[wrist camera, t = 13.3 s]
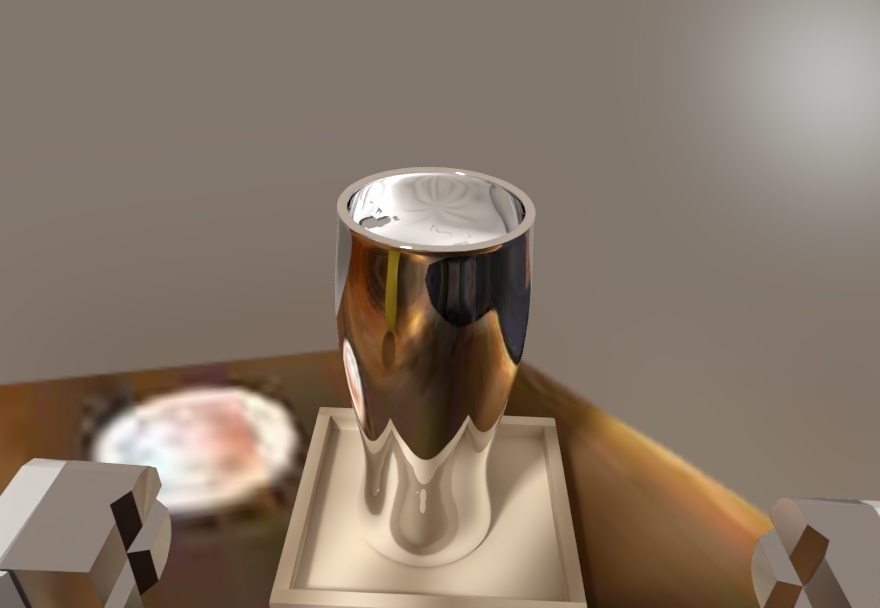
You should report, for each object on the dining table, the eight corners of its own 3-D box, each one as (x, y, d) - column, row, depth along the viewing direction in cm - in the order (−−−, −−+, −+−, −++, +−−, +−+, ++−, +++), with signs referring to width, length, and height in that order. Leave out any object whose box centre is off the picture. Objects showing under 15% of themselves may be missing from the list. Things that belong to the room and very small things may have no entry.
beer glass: (355, 451, 33) (344, 160, 25) (496, 456, 33) (530, 168, 25) (336, 575, 28) (313, 248, 19) (507, 581, 28) (555, 257, 20)
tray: (273, 625, 26) (269, 602, 25) (321, 428, 36) (320, 406, 35) (582, 640, 26) (588, 617, 25) (550, 439, 36) (554, 417, 35)
